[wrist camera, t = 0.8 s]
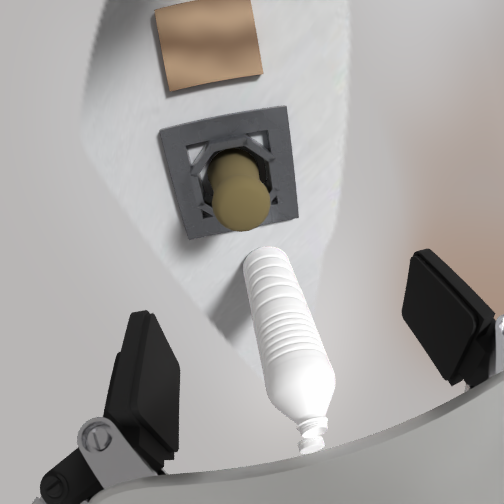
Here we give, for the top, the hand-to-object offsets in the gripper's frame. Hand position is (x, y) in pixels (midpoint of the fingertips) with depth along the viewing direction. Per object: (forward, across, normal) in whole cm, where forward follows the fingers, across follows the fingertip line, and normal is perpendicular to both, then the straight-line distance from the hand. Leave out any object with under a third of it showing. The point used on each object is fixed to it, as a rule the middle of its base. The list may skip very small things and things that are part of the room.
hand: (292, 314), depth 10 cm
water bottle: (+28, -2, +17) cm, 33 cm away
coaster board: (+26, 0, -14) cm, 30 cm away
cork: (+27, 0, +2) cm, 27 cm away
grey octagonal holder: (+27, 0, +2) cm, 27 cm away
